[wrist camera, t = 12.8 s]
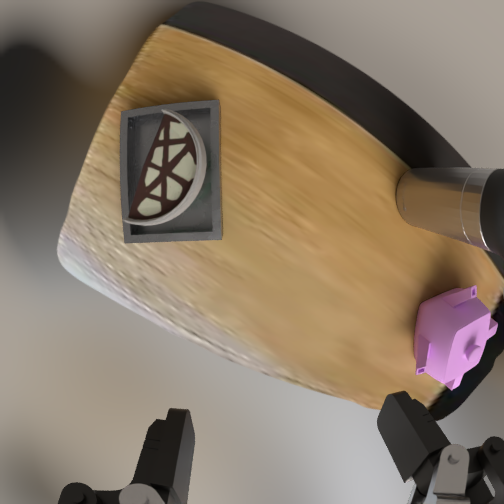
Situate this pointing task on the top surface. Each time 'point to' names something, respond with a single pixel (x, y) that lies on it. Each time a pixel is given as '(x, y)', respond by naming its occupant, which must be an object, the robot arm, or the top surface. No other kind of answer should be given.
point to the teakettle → (451, 334)
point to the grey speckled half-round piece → (169, 172)
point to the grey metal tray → (134, 155)
